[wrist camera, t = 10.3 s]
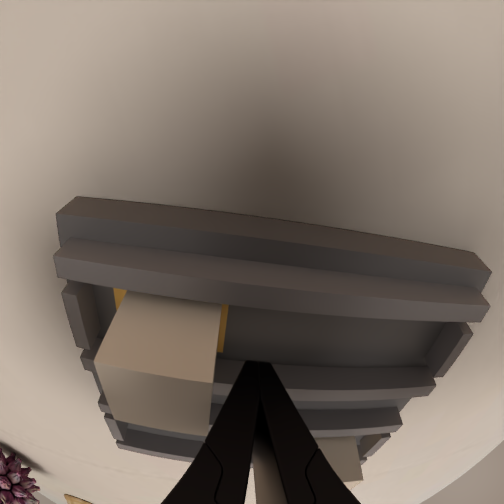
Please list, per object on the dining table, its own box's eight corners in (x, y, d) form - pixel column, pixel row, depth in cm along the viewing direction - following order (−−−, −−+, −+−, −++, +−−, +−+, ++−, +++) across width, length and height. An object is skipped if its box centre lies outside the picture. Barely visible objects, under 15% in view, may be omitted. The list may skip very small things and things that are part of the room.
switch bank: (473, 252, 11) (507, 289, 9) (357, 436, 19) (363, 468, 16) (76, 196, 10) (36, 230, 8) (122, 417, 18) (113, 451, 15)
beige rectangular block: (223, 293, 10) (212, 383, 7) (216, 355, 12) (207, 436, 8) (132, 280, 10) (93, 361, 7) (139, 343, 11) (114, 419, 8)
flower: (63, 479, 31) (47, 541, 21) (18, 463, 32) (1, 516, 22) (11, 440, 25) (-14, 511, 15) (-29, 425, 27) (-53, 482, 16)
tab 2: (352, 423, 14) (363, 479, 11) (333, 446, 16) (340, 496, 13) (298, 424, 14) (303, 485, 11) (285, 447, 16) (288, 500, 13)
